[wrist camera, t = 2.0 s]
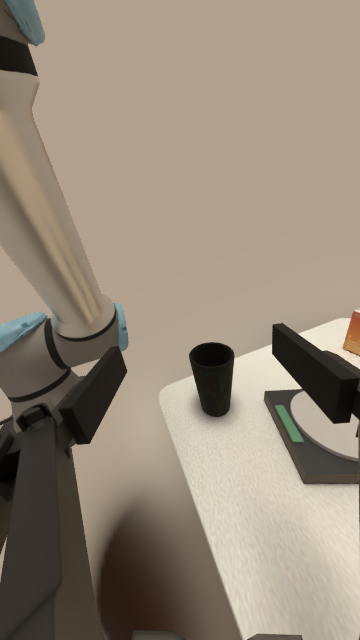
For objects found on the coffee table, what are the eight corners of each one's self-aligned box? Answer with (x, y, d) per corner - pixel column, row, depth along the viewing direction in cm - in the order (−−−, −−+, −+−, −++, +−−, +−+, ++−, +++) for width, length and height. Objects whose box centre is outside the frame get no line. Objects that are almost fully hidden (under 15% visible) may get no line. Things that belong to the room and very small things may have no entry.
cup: (204, 385, 39) (198, 340, 35) (238, 394, 35) (238, 345, 31) (190, 413, 33) (181, 362, 28) (230, 428, 29) (228, 372, 25)
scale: (303, 483, 22) (307, 469, 21) (264, 399, 34) (264, 387, 32) (421, 484, 20) (432, 469, 19) (336, 395, 32) (339, 383, 31)
